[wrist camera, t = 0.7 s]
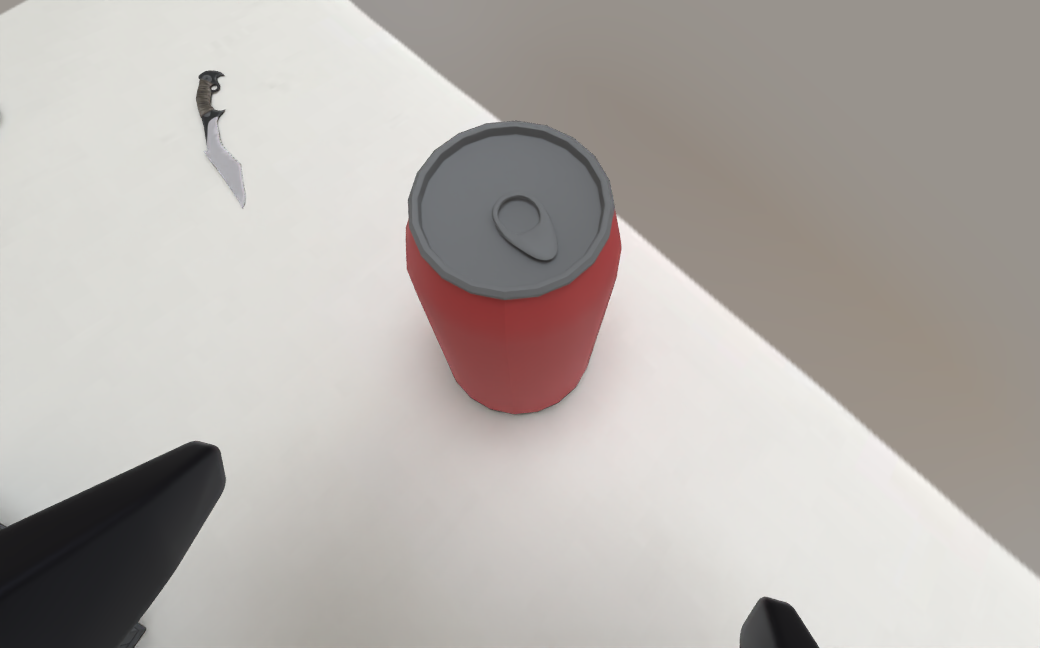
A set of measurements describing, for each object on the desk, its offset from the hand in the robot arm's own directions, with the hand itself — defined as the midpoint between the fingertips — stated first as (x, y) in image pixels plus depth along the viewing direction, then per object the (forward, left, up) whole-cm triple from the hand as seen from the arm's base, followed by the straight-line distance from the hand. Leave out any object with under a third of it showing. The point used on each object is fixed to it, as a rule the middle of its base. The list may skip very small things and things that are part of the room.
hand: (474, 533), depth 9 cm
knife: (+13, +23, -15) cm, 31 cm away
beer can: (+8, +4, -15) cm, 17 cm away
